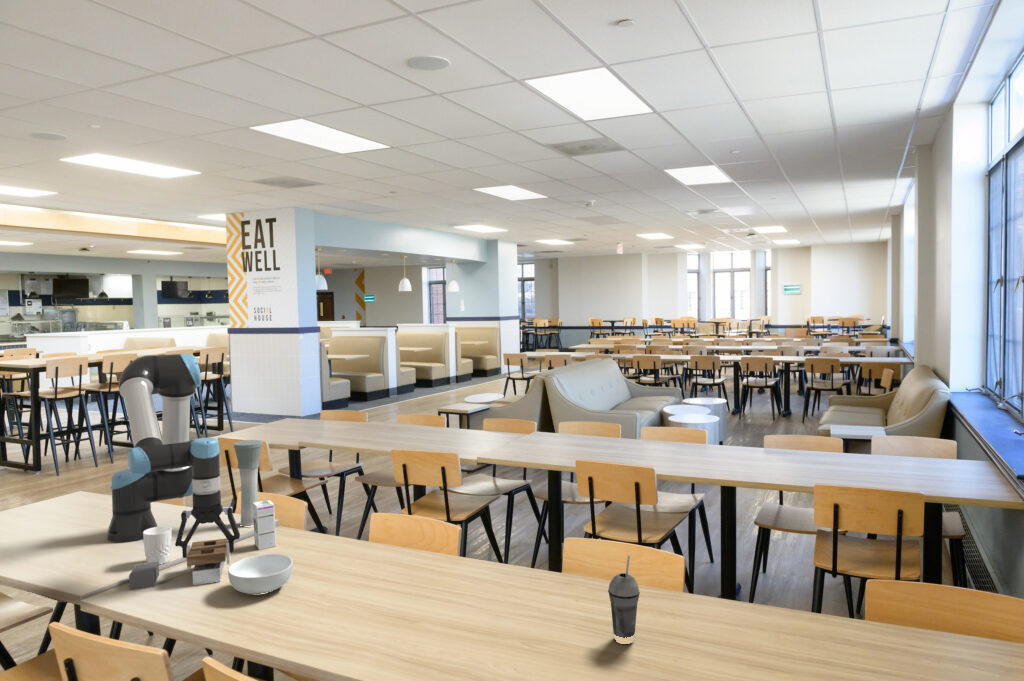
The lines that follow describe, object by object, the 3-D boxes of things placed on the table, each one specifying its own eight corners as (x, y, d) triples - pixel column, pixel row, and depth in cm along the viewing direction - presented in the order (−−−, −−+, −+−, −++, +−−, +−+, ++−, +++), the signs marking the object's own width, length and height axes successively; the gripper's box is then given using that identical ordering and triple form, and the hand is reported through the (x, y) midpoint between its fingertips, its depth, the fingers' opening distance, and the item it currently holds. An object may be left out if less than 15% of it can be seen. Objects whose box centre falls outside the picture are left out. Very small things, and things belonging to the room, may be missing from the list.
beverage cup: (605, 633, 158) (604, 550, 157) (635, 631, 159) (634, 549, 158) (612, 648, 151) (612, 562, 150) (643, 647, 151) (643, 561, 150)
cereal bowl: (215, 597, 180) (214, 571, 180) (258, 574, 196) (257, 550, 195) (265, 606, 174) (264, 580, 174) (305, 581, 190) (305, 557, 190)
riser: (136, 577, 194) (135, 564, 194) (159, 574, 196) (158, 561, 196) (129, 589, 185) (129, 575, 185) (153, 586, 187) (153, 572, 187)
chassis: (199, 566, 202) (198, 543, 202) (224, 563, 204) (223, 540, 204) (193, 585, 188) (192, 561, 188) (219, 581, 190) (219, 558, 190)
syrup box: (276, 546, 218) (275, 503, 218) (257, 550, 215) (256, 506, 214) (272, 541, 223) (270, 499, 222) (253, 545, 220) (252, 502, 219)
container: (240, 520, 246) (238, 440, 244) (267, 519, 247) (265, 439, 245) (232, 529, 236) (230, 445, 235) (260, 527, 237) (258, 444, 236)
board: (192, 550, 200) (192, 542, 200) (228, 546, 204) (228, 538, 204) (187, 566, 188) (186, 557, 188) (225, 561, 191) (224, 552, 191)
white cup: (178, 557, 210) (177, 526, 209) (162, 567, 202) (161, 534, 201) (154, 556, 210) (153, 525, 210) (138, 566, 203) (137, 534, 202)
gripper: (161, 498, 188) (164, 575, 189) (247, 490, 195) (249, 564, 196) (165, 491, 195) (168, 566, 196) (248, 484, 202) (250, 556, 203)
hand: (209, 565), depth 196 cm, fingers closed on board, 10 cm apart
